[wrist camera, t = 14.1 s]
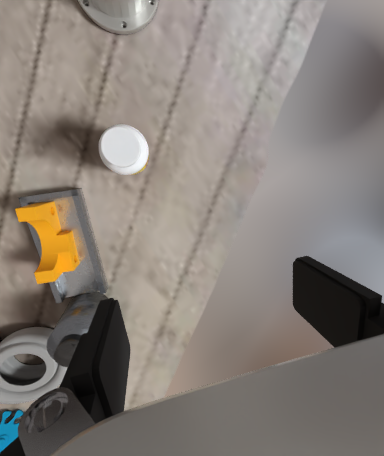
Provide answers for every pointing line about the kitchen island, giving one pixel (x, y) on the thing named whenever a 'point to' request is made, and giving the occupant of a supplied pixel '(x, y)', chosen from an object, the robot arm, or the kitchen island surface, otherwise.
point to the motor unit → (73, 273)
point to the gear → (8, 429)
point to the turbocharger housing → (27, 367)
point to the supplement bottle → (123, 149)
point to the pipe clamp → (50, 241)
